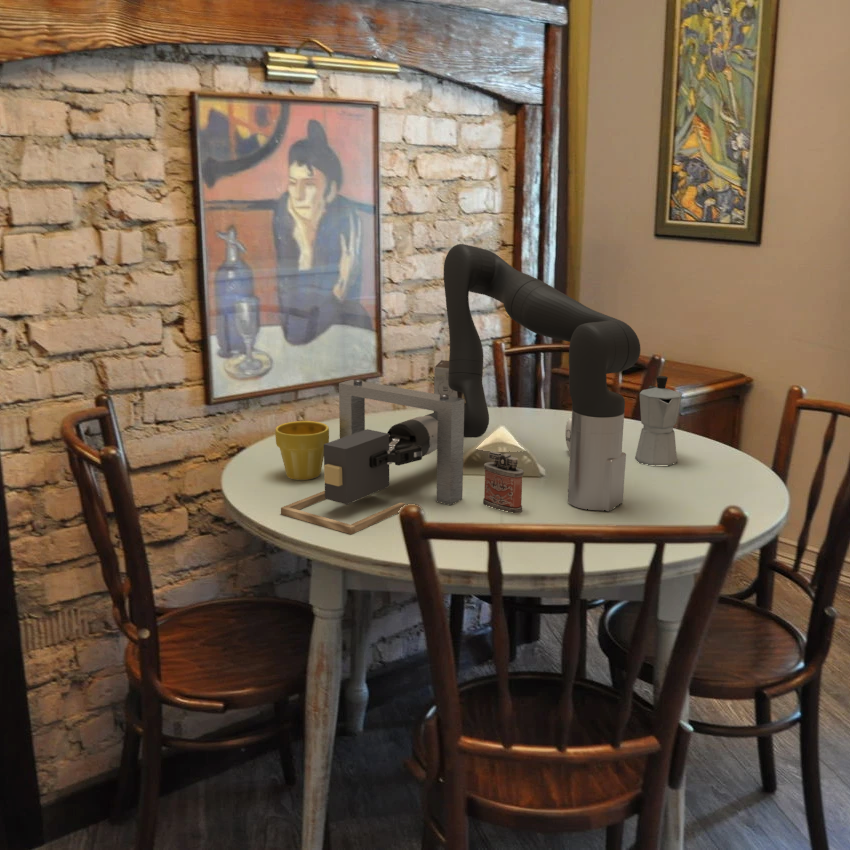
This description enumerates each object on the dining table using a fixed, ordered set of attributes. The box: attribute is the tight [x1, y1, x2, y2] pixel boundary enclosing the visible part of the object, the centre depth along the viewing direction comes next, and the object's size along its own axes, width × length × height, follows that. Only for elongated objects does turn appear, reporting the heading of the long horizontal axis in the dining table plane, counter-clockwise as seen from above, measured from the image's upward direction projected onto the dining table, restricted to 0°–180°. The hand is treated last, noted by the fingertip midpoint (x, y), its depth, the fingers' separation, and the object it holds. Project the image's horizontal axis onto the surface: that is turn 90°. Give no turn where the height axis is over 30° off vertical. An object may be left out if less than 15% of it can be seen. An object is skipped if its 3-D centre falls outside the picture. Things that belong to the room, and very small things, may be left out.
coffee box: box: [433, 359, 466, 413], centre depth 223 cm, size 9×6×16 cm
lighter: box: [482, 450, 525, 514], centre depth 175 cm, size 8×3×10 cm, turn 48°
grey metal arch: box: [338, 379, 465, 506], centre depth 183 cm, size 26×4×20 cm, turn 54°
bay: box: [280, 490, 406, 535], centre depth 173 cm, size 16×15×1 cm
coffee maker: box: [634, 375, 683, 466], centre depth 204 cm, size 15×9×18 cm, turn 0°
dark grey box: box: [323, 428, 390, 505], centre depth 174 cm, size 5×13×10 cm, turn 144°
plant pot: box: [274, 420, 330, 481], centre depth 192 cm, size 10×10×10 cm
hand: (358, 459), depth 174 cm, fingers closed on dark grey box, 5 cm apart
